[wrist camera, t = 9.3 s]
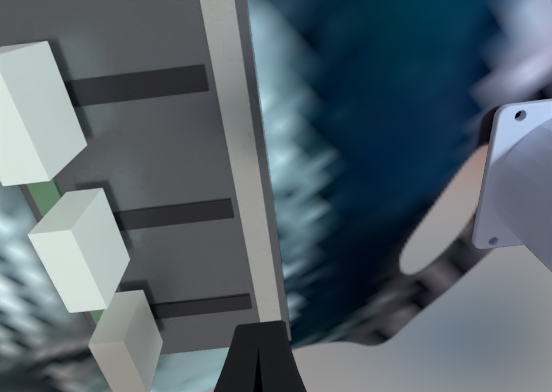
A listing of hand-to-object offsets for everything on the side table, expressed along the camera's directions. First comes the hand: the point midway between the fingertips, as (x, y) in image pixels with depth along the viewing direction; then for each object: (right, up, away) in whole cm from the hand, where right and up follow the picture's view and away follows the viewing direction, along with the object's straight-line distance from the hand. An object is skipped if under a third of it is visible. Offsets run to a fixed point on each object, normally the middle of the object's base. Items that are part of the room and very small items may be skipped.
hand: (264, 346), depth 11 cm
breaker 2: (-7, -2, +10) cm, 12 cm away
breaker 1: (-8, +8, +4) cm, 12 cm away
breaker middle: (-8, +3, +7) cm, 11 cm away
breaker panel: (-5, +4, +8) cm, 11 cm away
